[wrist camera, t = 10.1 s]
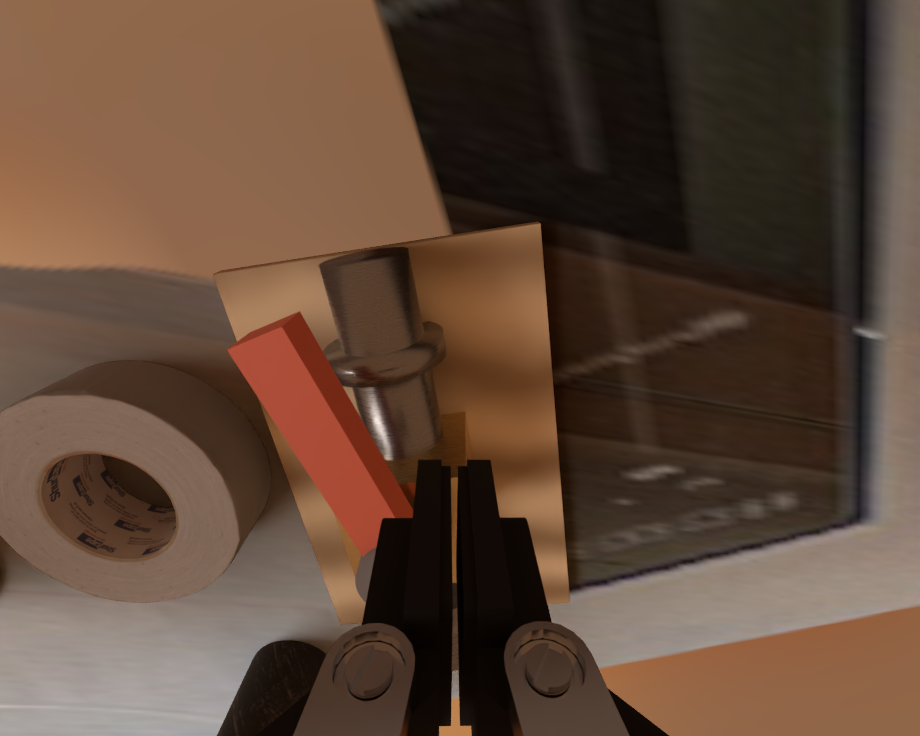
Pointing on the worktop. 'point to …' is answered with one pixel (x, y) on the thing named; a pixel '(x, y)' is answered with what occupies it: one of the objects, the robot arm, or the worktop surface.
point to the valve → (393, 375)
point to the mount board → (443, 379)
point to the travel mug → (272, 686)
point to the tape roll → (110, 507)
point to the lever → (323, 431)
